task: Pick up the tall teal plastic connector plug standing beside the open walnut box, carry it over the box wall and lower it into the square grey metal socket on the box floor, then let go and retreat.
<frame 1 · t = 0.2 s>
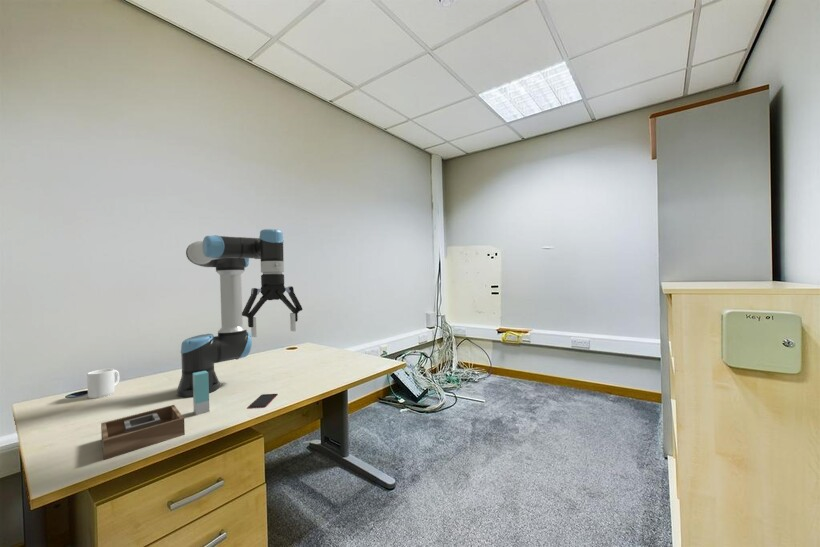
hand: (274, 333, 114), 28 cm above the table, fingers open, 13 cm apart
connector plug: (201, 411, 116), on the table
connector box: (143, 437, 98), on the table
cup: (106, 393, 139), on the table
smartphone: (263, 402, 124), on the table
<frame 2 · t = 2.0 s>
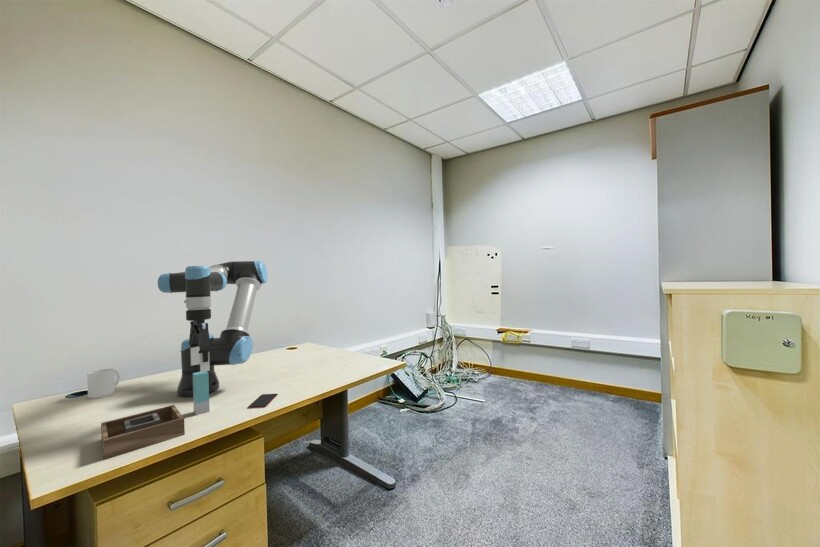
hand: (199, 367, 116), 16 cm above the table, fingers open, 13 cm apart
nothing on the table moved.
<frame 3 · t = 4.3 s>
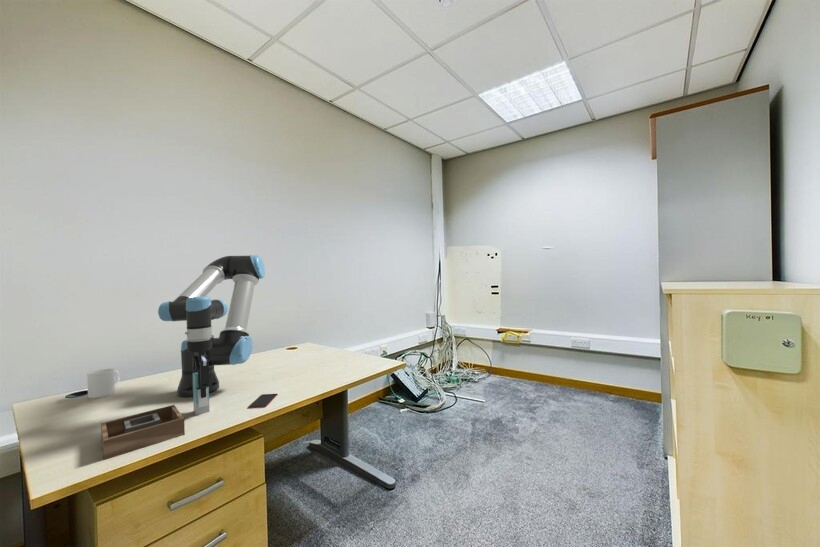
hand: (201, 404, 116), 3 cm above the table, fingers closed on connector plug, 4 cm apart
connector plug: (201, 411, 116), on the table, touching gripper
everything else where it was.
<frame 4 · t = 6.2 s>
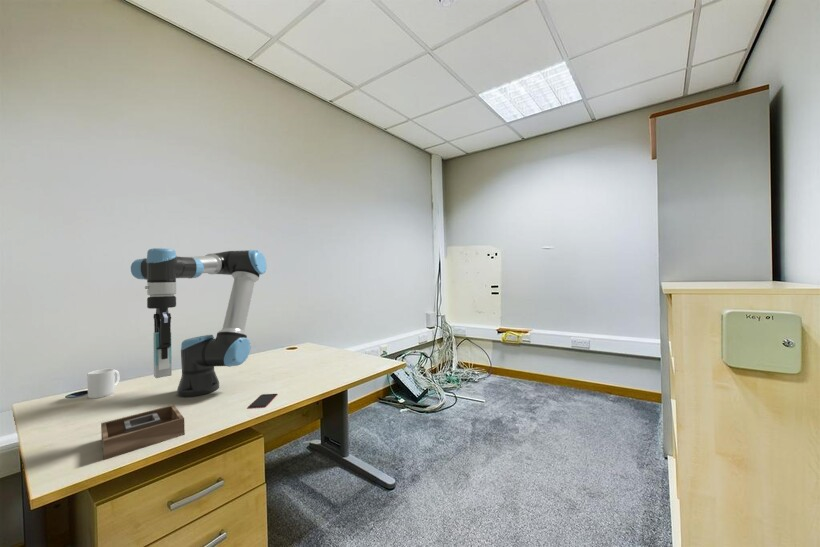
hand: (162, 367, 105), 19 cm above the table, fingers closed on connector plug, 4 cm apart
connector plug: (162, 375, 105), point 17 cm above the table, touching gripper
everything else where it was.
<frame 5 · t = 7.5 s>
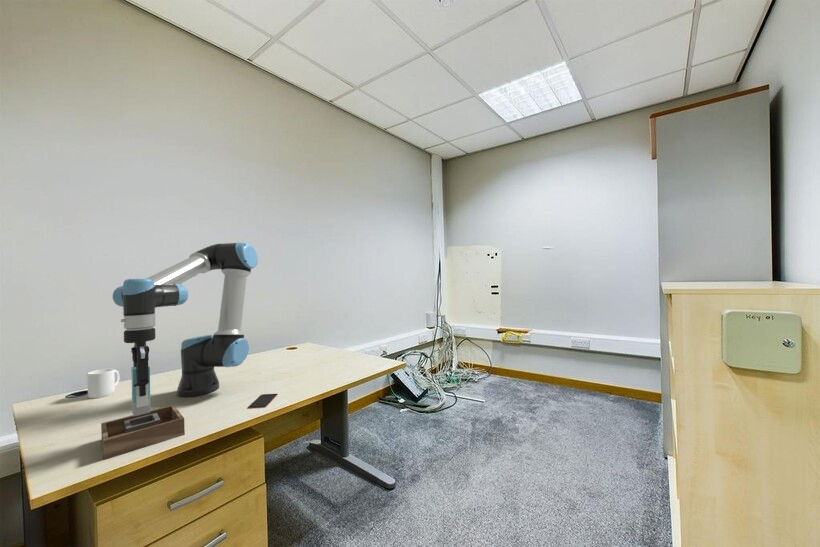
hand: (141, 404, 99), 10 cm above the table, fingers closed on connector plug, 4 cm apart
connector plug: (141, 412, 99), point 7 cm above the table, touching gripper
everything else where it was.
when the fingers open (6 cm above the table, at t = 8.5 s): connector plug drops 2 cm, resting on connector box.
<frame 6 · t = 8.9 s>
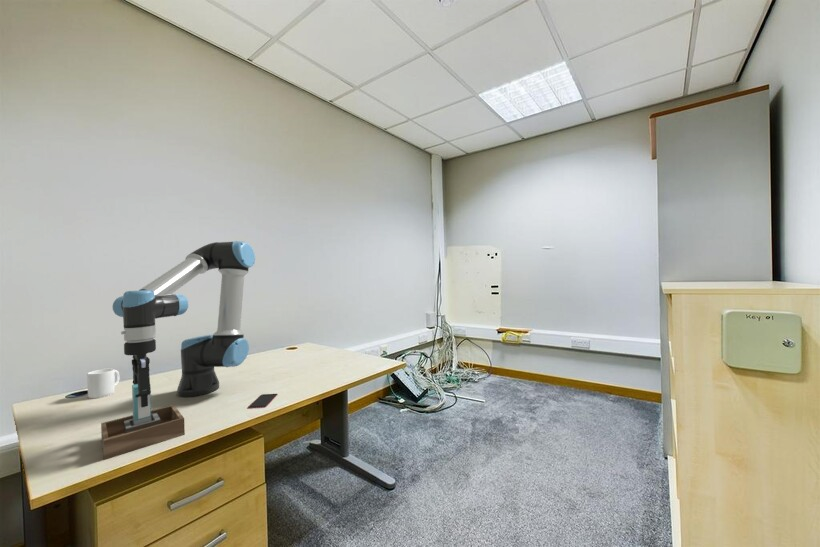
hand: (142, 411, 99), 7 cm above the table, fingers open, 10 cm apart
connector plug: (142, 430, 99), point 1 cm above the table, touching connector box
everything else where it was.
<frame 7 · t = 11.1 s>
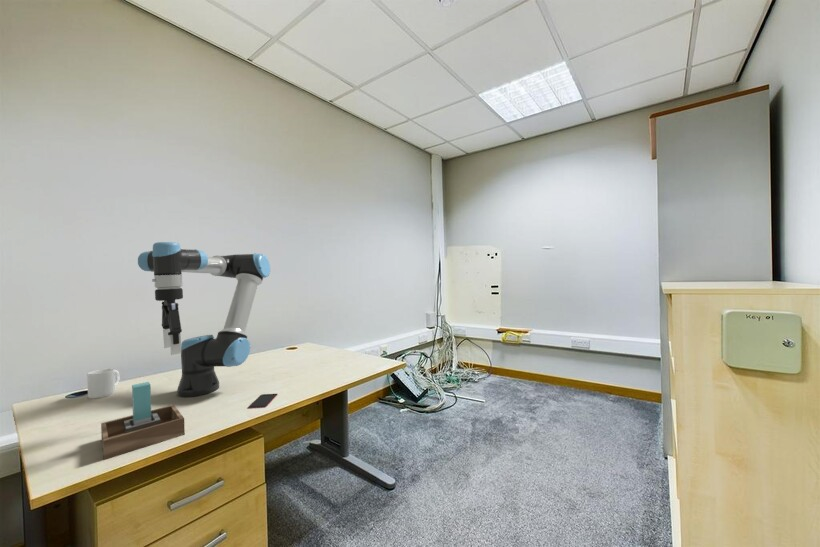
hand: (172, 350, 109), 24 cm above the table, fingers open, 13 cm apart
nothing on the table moved.
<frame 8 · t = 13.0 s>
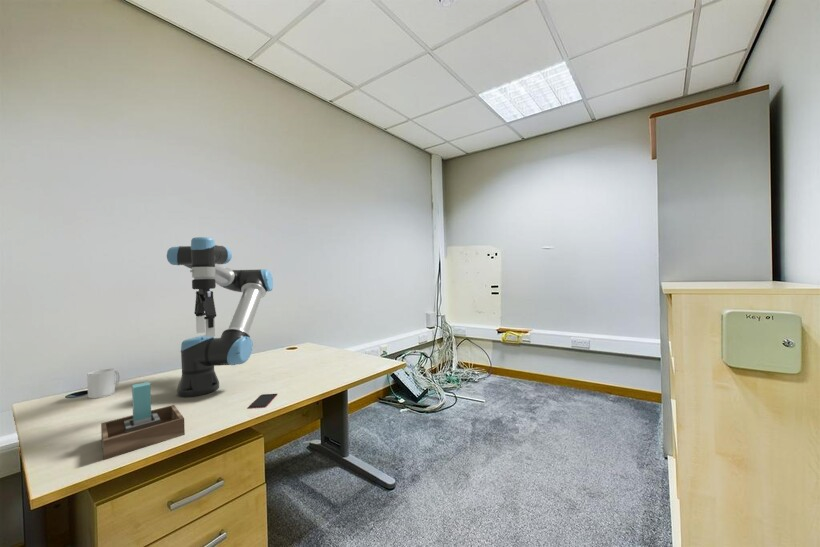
hand: (205, 334, 122), 27 cm above the table, fingers open, 13 cm apart
nothing on the table moved.
at the end: connector plug 0.0 cm from the target spot on the connector box, point 1.5 cm above the connector box's base; connector plug tilted 0°; the gripper is holding nothing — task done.
